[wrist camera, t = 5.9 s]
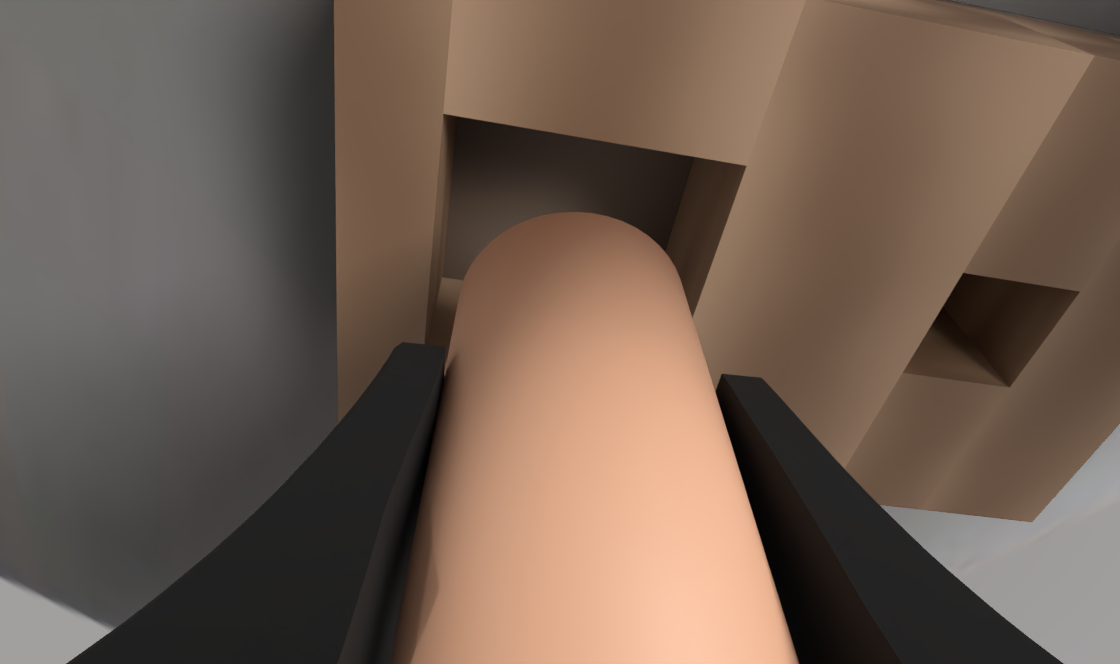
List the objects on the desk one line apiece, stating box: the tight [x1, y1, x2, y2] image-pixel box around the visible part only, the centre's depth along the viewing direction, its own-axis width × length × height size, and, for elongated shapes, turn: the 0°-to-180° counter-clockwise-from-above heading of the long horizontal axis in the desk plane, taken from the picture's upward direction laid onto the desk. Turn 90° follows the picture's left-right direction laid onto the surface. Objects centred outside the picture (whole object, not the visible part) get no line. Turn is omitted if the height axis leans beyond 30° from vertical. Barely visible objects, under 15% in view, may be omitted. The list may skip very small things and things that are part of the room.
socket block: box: [334, 0, 1120, 522], centre depth 16 cm, size 18×11×4 cm, turn 80°
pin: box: [390, 212, 799, 664], centre depth 9 cm, size 4×4×8 cm
